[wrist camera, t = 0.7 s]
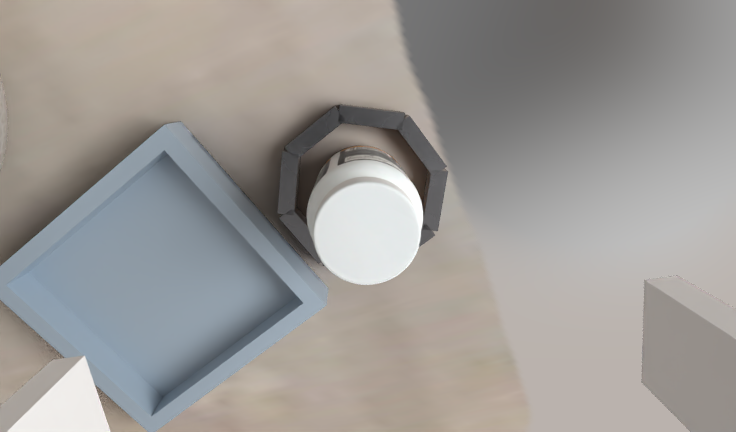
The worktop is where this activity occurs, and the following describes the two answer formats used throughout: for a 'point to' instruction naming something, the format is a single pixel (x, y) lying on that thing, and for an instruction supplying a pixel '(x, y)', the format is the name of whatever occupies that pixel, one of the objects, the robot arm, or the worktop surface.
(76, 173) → the worktop surface
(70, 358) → the robot arm
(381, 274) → the pill bottle
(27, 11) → the worktop surface
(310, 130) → the ring
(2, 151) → the planter
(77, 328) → the tray
